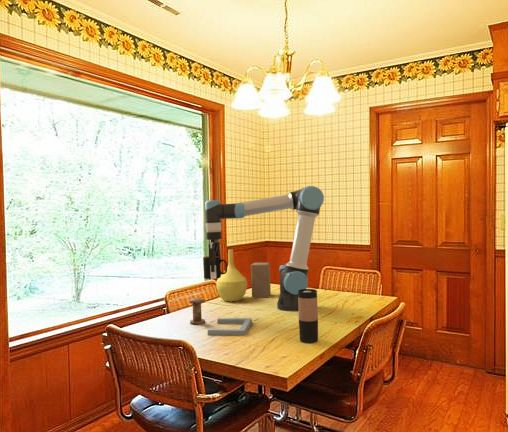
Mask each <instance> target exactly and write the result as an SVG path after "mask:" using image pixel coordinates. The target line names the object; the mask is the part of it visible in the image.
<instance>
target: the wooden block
mask: <svg viewBox="0 0 508 432" xmlns="http://www.w3.org/2000/svg"><path fill="white" fill-rule="evenodd" d="M270 266H271V263H270V262H252V264H250V274H251V276H250V277H251V280H250V281H251V298H253V297H255V298H256V299H257V298H260V299H264V298H266V299H268V298H269V297H270V296H271V295H272V291H271V267H270ZM255 298H254V299H255Z"/></svg>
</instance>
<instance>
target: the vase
mask: <svg viewBox="0 0 508 432" xmlns="http://www.w3.org/2000/svg"><path fill="white" fill-rule="evenodd" d="M227 254H228V260H227V261H228V263H227V272H226V273H225V274H221V277H220V278H217V280H216V290H217V293H218V296H219V297H220V298H221V299H222V300H223V301H225V302H227V301H230V303H233V302H232V301H235V302H239V301H241V300H242V299H243V298H244V296H245V295H246V292H247V289H248V281H247V278H246V277H245V276H243V274H242V273H241V272H240V271H239V270H238V269H237V268H236V266H235V263H234V249H228V253H227Z"/></svg>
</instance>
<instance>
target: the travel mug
mask: <svg viewBox="0 0 508 432" xmlns="http://www.w3.org/2000/svg"><path fill="white" fill-rule="evenodd" d="M318 309H319V308H318V291H317V289H314V288H306V289H301V290H298V310H297V311H298V329H299V331H298V332H299V341H300V342H301V343H303V344H314V343H315V344H316V343H317V342H318V341H319V310H318Z"/></svg>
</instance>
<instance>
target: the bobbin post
mask: <svg viewBox="0 0 508 432" xmlns="http://www.w3.org/2000/svg"><path fill="white" fill-rule="evenodd" d="M204 302H205V298H202V297H197V298H194V297H193V298H190V299H189V303H190V304H192V319H191V320H189V324H190V325H194V326H195V325H199V326H200V325H202V324H205V322H206V320H205V319H204V318H203V317H202V303H204Z"/></svg>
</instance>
